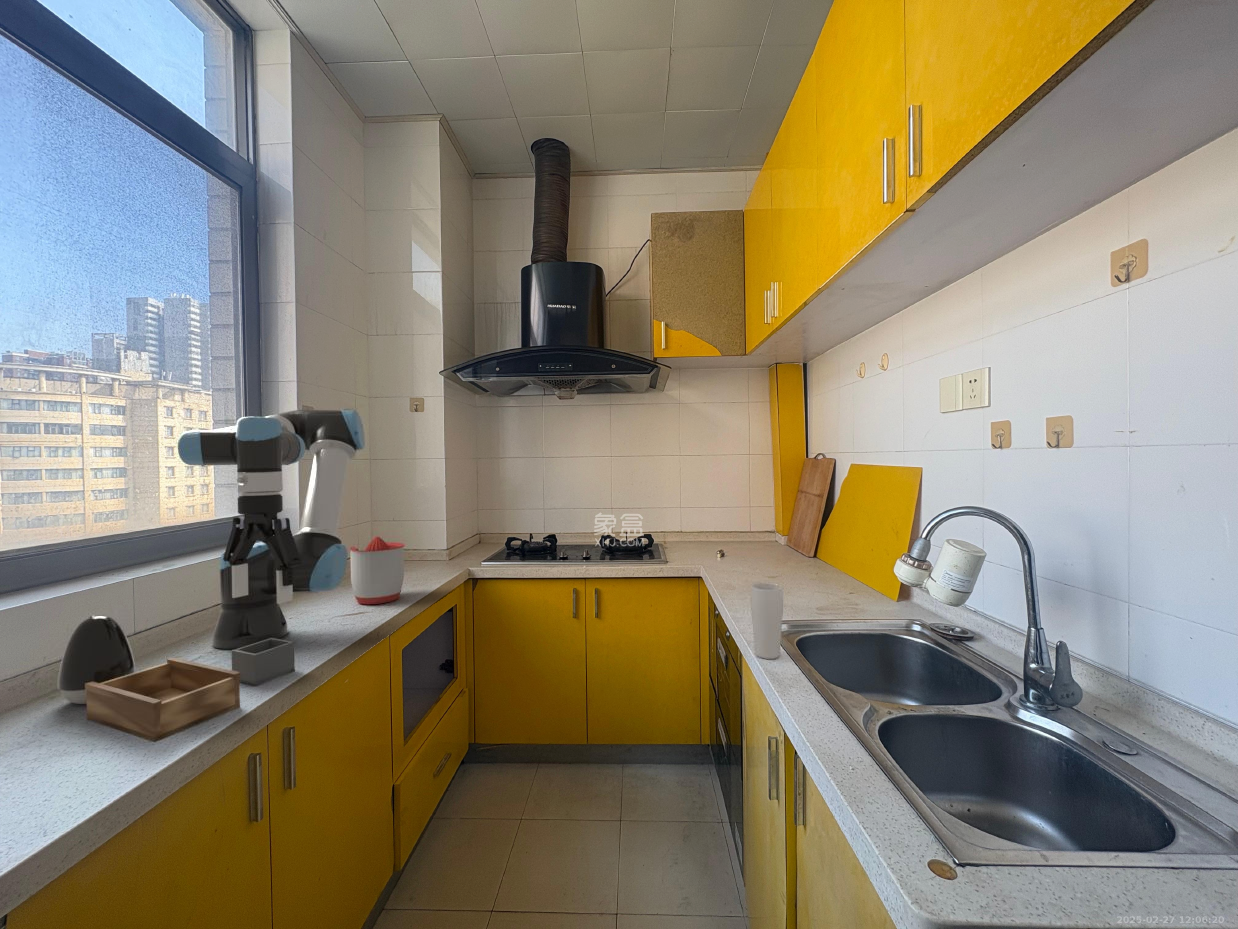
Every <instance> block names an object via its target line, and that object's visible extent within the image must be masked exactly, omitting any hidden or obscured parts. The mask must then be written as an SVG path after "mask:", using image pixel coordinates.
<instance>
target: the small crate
mask: <svg viewBox="0 0 1238 929" xmlns="http://www.w3.org/2000/svg"><path fill="white" fill-rule="evenodd" d="M295 662H296V661H295V642H294V641H292V640H286V639H281V638H280V639H275V638H270V639H266V640H263V641H260V642H257V643H254V644H251V645H248V646H244V647H241V648H235V649H232V650H231V670H232V671H237V672H241V678H239V683H240V684H244V685H248V686H252V687H257V686H260V685H262V684H264V683H267V682H269V681H272V680H275V679H278V678H280V677H282V676H285V675H287V674H289V673H293V672H295V670H296V669H295V668H296V667H295V666H296V665H295V664H296V663H295Z"/></svg>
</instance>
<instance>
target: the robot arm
mask: <svg viewBox="0 0 1238 929" xmlns="http://www.w3.org/2000/svg"><path fill="white" fill-rule="evenodd" d="M362 421H363V420H362V418H361V416H360V414H359V413H358V412H357V411H356V410H353V409H351V410H350V409H349V410H348V409H340V410H339V409H338V410H337V409H295V410H290V411H286V412H280V413H277V414H272V415H268V416H267V415H266V416H243V417H240V418H239V419H238V420H237V421H236V425H234V426H228V427H224V428H223V427H222V428H217V429H208V430H202V429H197V430H187V431H184V432H182V434H181V435H180V436H179V438H178V442H177V451H178V455H179V459H180V460H181V461H182V462H183V463H184V464H186V465H188V466H201V467H205V466H237V467H236V468H237V470H236V472H237V479H236V482H237V492H238V494H241V495H239V496H238V497H237V514H239V515H243V516H238V517H233V519H232V526H231V531H230V535H229V538H228V541H227V544H226V547H225V550H224V551H223V552H222V553H221V555H220V560H219V561H220V562H219V568H218V570H219V582H220V583H219V584H220V587H219V588H220V613H219V616H218V619H217V622H216V625H215V628H214V631H213V633H212V636H211V637H212V639H211V640H212V643H211V644H212V647H214V648H216V649H225V650H231V649H232V650H235V649H238V648H241V647H244V646H248V645H251V644H254V643H257V642H260V641H263V640H266V639H270V638H275V639H281V638H283V637H285V636H286V635H287V634H288V623H287V620H286V617H285V615H284V612H283V611H282V608H281V606H280V605H281V604H285V603H289V602H293V601H294V597H293V596H294V595H295V594H308V593H309V594H320V593H324V592H330V591H333V590H336V589H337V588H338V587H339V586H340V584H341V583H342V581H343V579H344V577H345V574H346V570H347V567H348V550H347V547H346V546H345V545H344V544H343V543H342V539H341V538H340V537H339V536H338V535H337V534H338V527H339V522H340V515H341V510H342V509H341V508H342V503H343V498H344V497H343V496H344V491H345V484H346V479H347V478H346V477H347V473H348V472H347V471H348V466H349V462H350V461H351V460H354V459H355V457H356V452H357V451H361V450H363V449H364V447H365V441H366V440H365V431H364V425H363V422H362ZM306 451H309V452H310V453H311V455H312V456H313V459H312V460H313V461H312V467H311V469H310V470H311V472H310V476H309V480H308V482H309V483H308V484H307V486H308V487H307V490H306V496H305V500H304V506H303V510H302V516H301V520H300V521H301V522H300V525H299V529H298V530H299V531H298V532H296V533H295V534H293V532H292V530H291V524H290V522H291V521H290V518H288V517H284V518H278V513H281V512H282V511H283V509H284V507H283V506H284V505H283V504H284V502H283V499H284V498H283V495H282V494H281V493H280V492H282V491H284V490H283V486H284V485H283V466H289V465H291V464H295V463H297V462H299V461H300V460H302V459H303V457H304V455H305V453H306ZM257 541H258V542H257Z"/></svg>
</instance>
